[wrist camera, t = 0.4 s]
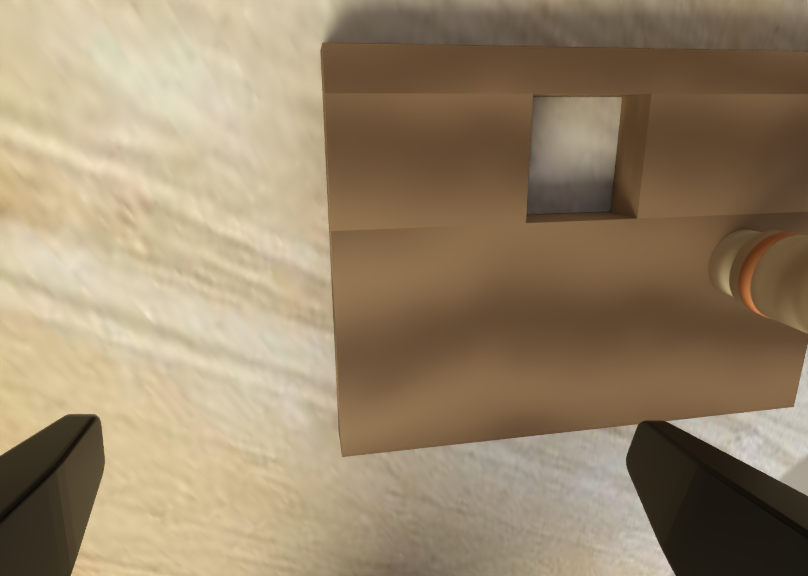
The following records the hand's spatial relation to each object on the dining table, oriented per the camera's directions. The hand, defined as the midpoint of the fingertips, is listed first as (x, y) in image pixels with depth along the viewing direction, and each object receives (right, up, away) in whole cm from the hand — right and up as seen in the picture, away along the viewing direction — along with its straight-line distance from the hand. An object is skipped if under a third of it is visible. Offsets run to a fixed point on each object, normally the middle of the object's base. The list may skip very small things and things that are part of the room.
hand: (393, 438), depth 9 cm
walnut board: (+8, +4, +15) cm, 18 cm away
